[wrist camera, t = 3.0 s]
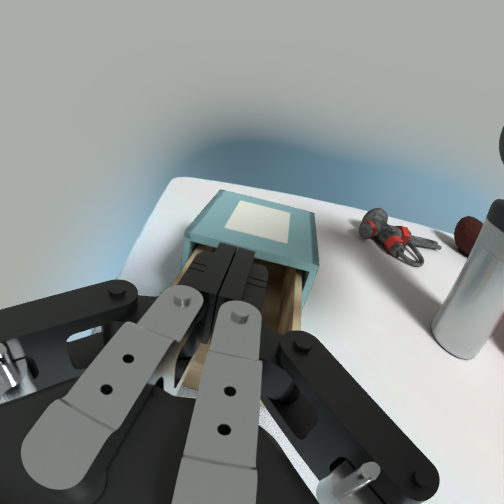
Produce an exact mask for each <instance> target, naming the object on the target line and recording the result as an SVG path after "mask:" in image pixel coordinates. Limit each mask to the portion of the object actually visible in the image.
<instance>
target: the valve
mask: <svg viewBox="0 0 504 504" xmlns="http://www.w3.org/2000/svg"><path fill="white" fill-rule="evenodd" d="M387 220H388V216H387V213H386V212H385V211H384V210H383V209H381V208H374V209H372V210H370V211H368V212H367V213H366V214H365V216H364V217H363V219H362V223H361V225H360V227H359V233H360V235H361V236H362V237H363V238H364V239H366V238H371V237H374V236H377V238H378V239H379V241H380V242H381V243H383V244H384V249H385V250H386V251H387V253H388V254H391V255H392V256H394V257H401V258H402V259H403V260H404V261H406V262H407V263H409V264H411V265H413V266H416V267H419V266H422V265H423V263H424V259H423V257H422V255H421V254H420V252H419V251H418V250H417V249H416V247H415V246H414V245H413V244H415V245H420V246H424V247H429V248H434V249H439V250H440V249H441V246H439V245H438V242H437V241H433V240H429V239H425V238H421V237H416V236H412V235H411V232H410V231H409V230H408V228H407V227H403V226H391V225H388V224H387ZM406 244H408V245H409V247H410V248H411V249H412V251H413V252H414V253H415V254H416V256H417V257H418V259H419V262H417V261H414V260H412V259H410V258H408V257H407V256H406V255H404V254H403V253H404V245H406Z"/></svg>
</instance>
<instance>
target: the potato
mask: <svg viewBox="0 0 504 504" xmlns="http://www.w3.org/2000/svg"><path fill="white" fill-rule="evenodd" d="M482 226H483V223H482V222H481V221H479V220H478V219H476V218H474V217H470V216H467V217H464V218H462V219H461V220H460V221H459V222H458V223H457V225H456V228H455V232H454V239H455V243H456V245H457V247H458V248H459V250H460V251H462V252H463V253H464V254H466V255H468V256H469V255H470V253H471V251H472V249H473V246H474V244H475V242H476V240H477V238H478V235H479V233H480V231H481V229H482Z"/></svg>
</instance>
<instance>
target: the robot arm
mask: <svg viewBox="0 0 504 504" xmlns="http://www.w3.org/2000/svg"><path fill="white" fill-rule="evenodd" d="M499 151H500V156H501V160H502V161H503V164H504V127H503V129H502V132H501V135H500V140H499ZM254 256H255V251H253V250H249V249H245V248H241V247H238V249H237V246H234V245H230V244H226V243H222V242H220V243H219V245H218V247H217V249H216V250H215V252H210V251H206V250H204V251H202V252H200V253H198V254H197V255H196V256H195V258H194V259H193V261H192V263H191V264H190V265H189V267H188V268H187V270H186V272H185V273H184V275H183V276H182V278H181V279H180V281H179V283H178V284H177V285H175V286H171V287H168V288H167V289H165V290H164V291H163V292H162V294H161V295H160V296H157V297H150V296H138V291H137V288H136V287H135V286H134V285H133V284H132V283H130V282H128V281H125V280H110V281H106V282H102V283H99V284H95V285H91V286H87V287H83V288H80V289H76V290H72V291H68V292H65V293H61V294H57V295H53V296H49V297H46V298H42V299H38V300H35V301H31V302H27V303H24V304H20V305H16V306H13V307H9V308H5V309H1V310H0V504H421V503H422V502H424V501H426V500H428V499H430V498H431V497H432V496H434V494H435V493H436V492H437V490H438V487H439V482H440V479H439V473H438V471H437V469H436V467H435V466H434V465H433V464H432V463H431V461H430V460H429V459H428V458H427V457H426V456H425V455H424V454H423V453H422V452H421V451H420V450H419V449H418V448H417V447H416V445H415V444H414V443H413V442H412V441H411V440H410V439H409V438H408V437H407V436H406V435H405V434H404V433H403V431H402V430H401V429H400V428H399V427H398V426H397V425H396V424H395V423H394V422H393V421H392V420H391V419H390V417H389V416H388V415H387V414H386V413H385V412H384V411H383V410H382V409H381V408H380V407H379V406H378V404H377V403H376V402H375V401H374V400H373V399H372V398H371V397H370V396H369V395H368V394H367V392H366V391H365V390H364V389H363V388H362V387H361V386H360V385H359V384H358V383H357V382H356V380H355V379H354V378H353V377H352V376H351V375H350V374H349V373H348V372H347V371H346V370H345V368H344V367H343V366H342V365H341V364H340V363H339V362H338V361H337V360H336V359H335V357H334V356H333V355H332V354H331V353H330V352H329V351H328V350H327V349H326V348H325V346H324V345H323V344H322V343H321V342H320V341H319V340H318V339H317V338H316V337H315V336H313V335H311V334H310V333H307V332H304V331H300V330H293V331H289V332H286V333H285V334H284V335H281V334H279V333H277V332H275V331H274V330H272V329H271V328H269V327H268V326H267V325H266V324H265V322H264V321H263V319H262V316H261V312H262V307H263V301H264V296H265V291H266V286H267V280H268V275H269V273H268V271H267V269H266V267H265V266H263V265H260V264H256V263H253V260H254ZM503 317H504V200H502V199H497V200H495V201H494V202H493V203H492V205H491V207H490V209H489V212H488V214H487V217H486V219H485V222H484V224H483V226H482V229H481V231H480V233H479V235H478V238H477V240H476V242H475V244H474V246H473V249H472V251H471V253H470V255H469V257H468V259H467V261H466V263H465V265H464V267H463V269H462V271H461V272H460V274H459V276H458V278H457V280H456V282H455V284H454V285H453V287H452V289H451V291H450V293H449V294H448V296H447V298H446V299H445V301H444V303H443V304H442V306H441V308H440V309H439V311H438V313H437V314H436V316H435V317H434V319H433V321H432V323H431V329H432V333H433V335H434V337H435V338H436V340H437V341H438V342H439V343H440V345H441V346H442V347H443V348H445V349H446V350H447V351H448V352H450V353H451V354H453V355H455V356H457V357H459V358H462V359H472V358H474V357H475V356H476V355H477V354H478V352H479V351H480V350H481V349H482V347H483V346H484V345H485V343H486V342H487V340H488V339H489V338H490V336H491V335H492V334H493V332H494V331H495V329H496V328H497V326H498V325H499V323H500V322H501V320H502V319H503ZM98 326H101V328H102V332H100V333H96V334H93V335H90V336H87V337H84V338H81V339H78V340H75V341H71V342H66V341H67V339H68V338H69V337H70V336H71V335H73V334H75V333H78V332H82V331H85V330H88V329H91V328H95V327H98ZM210 336H211V337H210ZM209 339H210V343H209V345H210V348H209V350H208V353H207V357H206V361H205V365H204V369H203V373H202V377H201V381H200V385H199V390H198V394H197V398H196V399H193V398H182V397H176V395H177V392H178V390H179V389H180V387H181V385H182V383H183V381H184V379H185V377H186V375H187V373H188V371H189V369H190V367H191V365H192V363H193V361H194V359H195V354H196V352H197V350H198V348H199V345H200V343H203V344H206V345H207V344H208V341H209ZM260 399H261V401H262V403H263V404H264V406H265V407H266V409H267V410H268V412H269V413H270V414H271V416H272V417H273V419H274V420H275V422H276V423H277V424H278V426H279V427H280V429H281V430H282V431H283V433H284V434H285V436H286V437H287V438H288V440H289V441H290V443H291V444H292V445H293V447H294V448H295V449H296V451H297V452H298V453H299V455H300V456H301V457H302V459H303V460H304V461H305V463H306V464H307V465H308V467H309V468H310V469H311V471H312V472H313V473H314V475H315V476H316V477H317V478H318V480H319V481H320V482H319V483H318V486H317V489H316V496H317V499H318V501H317V499H316V498H315V496H314V495H313V494H312V492H311V491H310V489H309V488H308V487H307V485H306V484H305V482H304V481H303V480H302V478H301V477H300V475H299V474H298V472H297V471H296V469H295V468H294V466H293V465H292V463H291V462H290V460H289V459H288V457H287V456H286V454H285V453H284V451H283V450H282V448H281V447H280V445H279V444H278V443H277V441H276V440H275V439H274V438H273V437H272V436H271V435H270V434H269V433H268V432H267V431H266V430H265V429H263V428H262V427H261V426H259V425H258V424H259V410H260Z"/></svg>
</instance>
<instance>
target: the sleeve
mask: <svg viewBox="0 0 504 504" xmlns="http://www.w3.org/2000/svg"><path fill="white" fill-rule="evenodd" d="M220 242H222V243H226V244H230V245H234V246H237V249H238V247H241V248H245V249H249V250H253V251H255V256H254V258H258V259H262V260H266V261H270V262H274V263H278V264H282V265H286V266H290V267H293V268H297V269H301V270H302V299H301V312H302V310H303V307H304V305H305V302H306V299H307V297H308V294H309V292H310V289H311V286H312V284H313V281H314V279H315V276H316V273H317V270H318V268H319V257H318V246H317V235H316V226H315V216H314V213H312V212H309V211H305V210H301V209H297V208H294V207H290V206H286V205H282V204H278V203H274V202H271V201H267V200H263V199H259V198H255V197H250V196H246V195H242V194H238V193H234V192H230V191H225V190H221V189H220V190H219V192H218V193H217V194H216V195H215V196H214V197H213V198H212V200H211V201H210V202H209V203H208V204H207V205H206V207H205V208H204V209H203V210H202V211H201V213H200V214H199V215H198V216H197V217H196V218H195V220H194V221H193V222H192V223H191V224H190V226H189V227H188V228H187V229H186V230H185V234H184V243H183V253H182V262H181V270H182V269H183V267H184V266H185V264H186V263H187V261H188V260H189V258H190V257H191V255H192V254H193V252H194V251H195V249H196V248H197V246H198V245H199V243H200V244H204V245H208V246H212V247H216V248H217V247H218V245H219V243H220Z"/></svg>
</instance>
